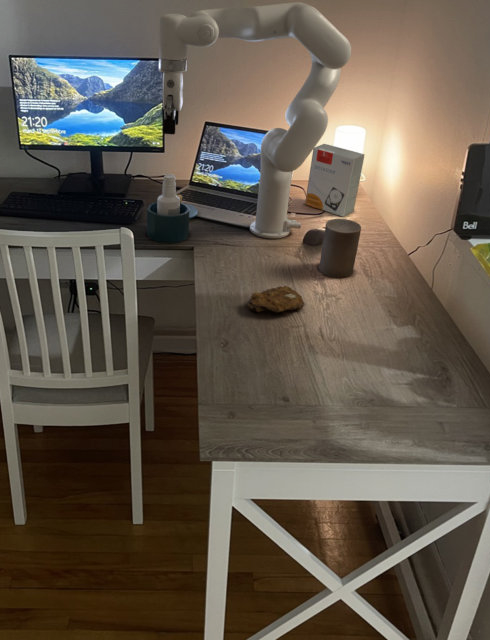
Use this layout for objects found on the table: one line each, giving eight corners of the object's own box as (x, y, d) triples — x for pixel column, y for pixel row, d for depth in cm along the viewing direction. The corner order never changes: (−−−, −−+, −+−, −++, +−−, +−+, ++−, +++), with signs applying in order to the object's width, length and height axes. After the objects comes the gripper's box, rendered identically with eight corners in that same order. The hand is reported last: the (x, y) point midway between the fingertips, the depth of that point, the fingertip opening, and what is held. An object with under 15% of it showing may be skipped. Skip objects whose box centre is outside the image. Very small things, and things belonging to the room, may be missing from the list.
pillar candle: (359, 270, 193) (369, 221, 185) (341, 281, 187) (350, 231, 179) (330, 259, 198) (338, 211, 190) (311, 269, 192) (319, 220, 184)
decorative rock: (264, 326, 166) (310, 313, 173) (267, 312, 164) (313, 299, 171) (237, 303, 174) (282, 291, 181) (239, 289, 171) (285, 278, 179)
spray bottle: (178, 237, 206) (180, 180, 197) (156, 236, 206) (157, 179, 197) (179, 228, 212) (181, 172, 202) (157, 228, 212) (158, 171, 202)
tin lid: (198, 207, 229) (199, 190, 226) (196, 223, 218) (197, 205, 214) (158, 204, 230) (159, 187, 227) (154, 220, 218) (154, 202, 215)
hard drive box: (303, 205, 234) (311, 147, 224) (315, 199, 239) (323, 142, 229) (343, 217, 226) (354, 158, 215) (355, 211, 231) (365, 153, 220)
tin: (189, 227, 215) (190, 202, 210) (186, 244, 204) (187, 217, 199) (150, 225, 215) (150, 199, 211) (145, 241, 205) (145, 214, 200)
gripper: (184, 72, 176) (181, 138, 185) (188, 59, 190) (186, 121, 199) (155, 70, 176) (154, 137, 185) (162, 58, 190) (161, 120, 200)
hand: (171, 129), depth 192 cm, fingers open, 9 cm apart
